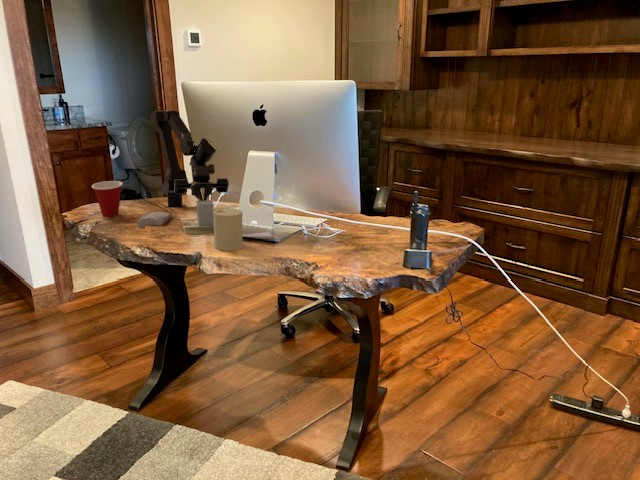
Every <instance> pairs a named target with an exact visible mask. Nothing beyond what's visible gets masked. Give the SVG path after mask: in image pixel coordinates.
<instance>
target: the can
mask: <svg viewBox="0 0 640 480" xmlns="http://www.w3.org/2000/svg"><path fill="white" fill-rule="evenodd" d="M243 212H244V211H243V210H241V209H237V208H231V207H230V208H228V207H227V208H225V207H224V208H219V209H215V210H213V215H214V232H213V235H214V236H213V239H214V240H213V242H214V243H213V247H214V249H215V250H217V249H218V251H221V250H223V251H222V252H234V251H238V250H241V249H242V248H243V247H244V243H243V242H244V241H243Z"/></svg>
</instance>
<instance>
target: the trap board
mask: <svg viewBox="0 0 640 480" xmlns="http://www.w3.org/2000/svg"><path fill="white" fill-rule="evenodd" d="M180 221H181V223H194V224H195V225H183V226H182V228H183V233H184V234H185V235H190V234H206V233H207V234H209V233H210V234H211V233H214V226H198V223H197V216H196V217H195V216H194V217H193V216H192V217H180ZM212 236H213V237H214V234H212V235H207V237H212ZM195 237H199V235H195V236H190V238H195Z"/></svg>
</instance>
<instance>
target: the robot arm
mask: <svg viewBox="0 0 640 480" xmlns="http://www.w3.org/2000/svg"><path fill="white" fill-rule="evenodd" d="M149 118H150V122H151V124H152V127H153V129H154V130H155V132H156V133H158V135H159V139H160V144H161V148H162V151H163V156H164V160H165V165H166V171H165V172H166V173H165V175H164V182H163V184H162V187H161V192H162V194H165V195H166V196H167V206H165V207H164V208H165V209H168V208H169V209H170V208H186V207H187V205H186V204H183V195H184V194H186V193H188V190H190V191H191V193H190V194H191V196H194V197H195V198H196V199H197V201H207V200H208V198H209V196H210V195H211V196H212V195H213V190H214V189H215V191H216V192H218V193H219V194H221V193H227V192H229V191H228V190H229V185H230V183H229V179H228V178H225V177H224V178H222V177H221V178H220V177H219V178H217V177H216V182H215V181H213V182H212V181H210V180H211V176H210V175H214V174H215V164H208V163H209V162H210V161H211V159H212V157H213V156H214V154H215V153H216V151H217V149H216V150H215V149H214V148H213V147H212V146H211V145H210V144H209V143H208V141H209V140H208V141H207V140H206V139H205V138H206V137H205V138H201V139H200V141H201V142H200V144H199V145H198V146H195V145H194V146H193V143H194V141H192V137H191V134H192V132H190V130H189V128H188V127H187V125H186V124H185V122H184V121H183V119H182V118H181V116H180V112H179V111H178V110H175V109H172V110H171V109H169V110H165V109H164V110H153V111H152V113H151V114H150V116H149ZM172 131H173V132H172ZM173 133H174V134H175V135H176V137H177V139H178V140H179V149H180V151H181V153H182V155H183V156H185V157H188V156H189V157H190V159H189V160H190V162H189V166H190V169H191V177H192V181H191V182H189V180H188V177H187V172H186V170H185V169H182V168H181V167H180V163H179V157H178V155H177V150H176V147H175V146H176V145H175V142H174V136H173ZM194 151H195V152H194ZM206 162H207V163H206ZM202 189H203V193H202Z"/></svg>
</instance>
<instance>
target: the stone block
mask: <svg viewBox="0 0 640 480" xmlns="http://www.w3.org/2000/svg"><path fill="white" fill-rule="evenodd" d="M170 219H171V213H170V212H164V211H153V212H149V213H144V215H142V216H140V218H139V219H137V221H136V223H137V226H138V228H140V229H146V226H147V225H148V226H163V225H164V224H166V223H167V222H168V221H169V220H170Z"/></svg>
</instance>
